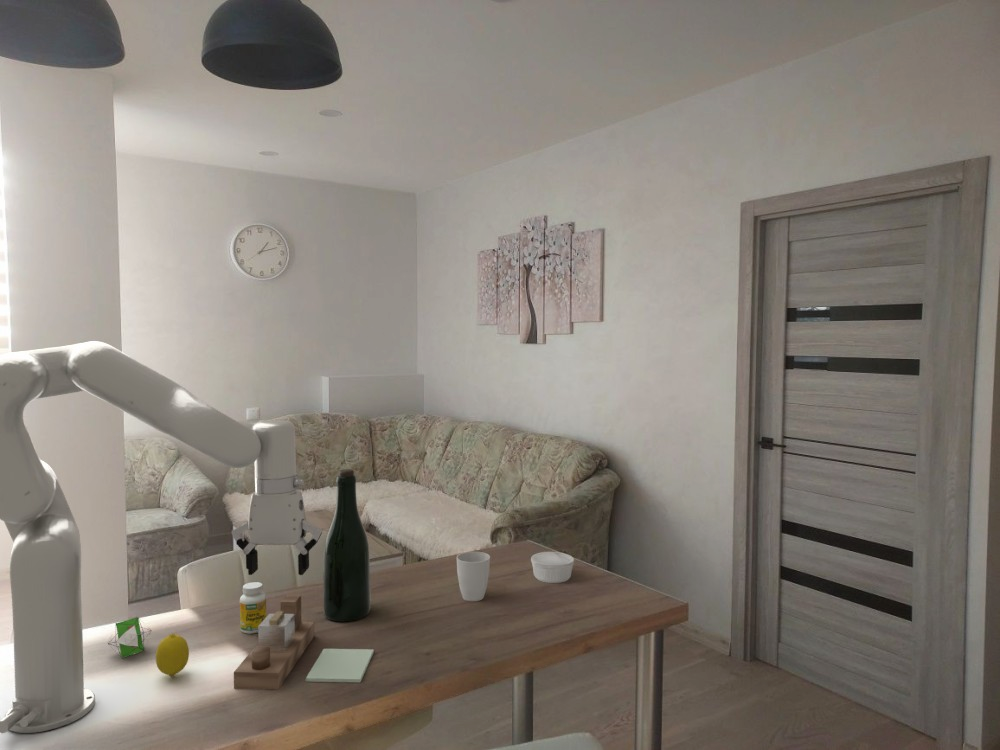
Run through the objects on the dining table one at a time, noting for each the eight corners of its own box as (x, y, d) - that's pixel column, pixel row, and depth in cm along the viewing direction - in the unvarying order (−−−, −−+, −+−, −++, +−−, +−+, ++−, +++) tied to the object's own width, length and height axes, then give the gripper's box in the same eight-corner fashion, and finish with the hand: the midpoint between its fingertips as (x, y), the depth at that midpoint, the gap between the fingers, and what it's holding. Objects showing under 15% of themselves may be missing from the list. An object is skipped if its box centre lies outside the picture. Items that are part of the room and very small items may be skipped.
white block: (284, 652, 131) (284, 622, 131) (258, 651, 131) (258, 622, 131) (294, 638, 137) (294, 609, 137) (269, 638, 137) (269, 609, 137)
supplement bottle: (262, 621, 152) (262, 579, 152) (269, 630, 148) (269, 586, 147) (237, 627, 149) (236, 583, 149) (243, 636, 145) (242, 591, 144)
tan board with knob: (278, 689, 123) (277, 640, 123) (233, 688, 124) (233, 639, 123) (314, 636, 145) (313, 594, 145) (276, 635, 146) (275, 593, 145)
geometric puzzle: (101, 640, 138) (109, 615, 134) (137, 629, 143) (146, 605, 139) (113, 670, 134) (121, 646, 131) (149, 658, 140) (159, 634, 136)
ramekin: (582, 577, 183) (582, 557, 182) (556, 588, 174) (557, 568, 174) (548, 567, 190) (548, 548, 190) (522, 578, 182) (522, 558, 181)
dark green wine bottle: (376, 618, 155) (375, 472, 153) (328, 626, 150) (327, 475, 148) (363, 601, 164) (363, 464, 162) (318, 609, 160) (317, 467, 158)
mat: (360, 682, 126) (360, 679, 126) (305, 681, 126) (305, 678, 126) (373, 652, 138) (373, 649, 138) (323, 651, 138) (323, 648, 138)
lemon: (167, 686, 124) (166, 643, 124) (149, 678, 127) (148, 635, 127) (195, 674, 129) (194, 632, 128) (177, 666, 132) (176, 625, 131)
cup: (496, 595, 169) (496, 555, 168) (477, 606, 162) (477, 564, 161) (468, 588, 173) (469, 549, 173) (449, 599, 166) (449, 558, 166)
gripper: (326, 480, 136) (327, 566, 137) (238, 480, 137) (241, 565, 138) (315, 489, 129) (316, 579, 130) (222, 489, 129) (225, 579, 130)
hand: (278, 572), depth 134 cm, fingers open, 9 cm apart
